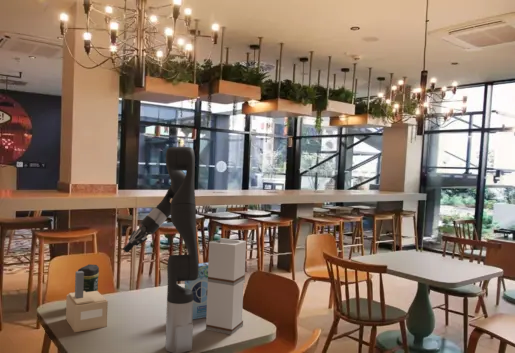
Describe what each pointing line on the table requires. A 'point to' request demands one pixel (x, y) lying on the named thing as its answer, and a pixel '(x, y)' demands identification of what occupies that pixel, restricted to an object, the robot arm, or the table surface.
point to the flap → (80, 290)
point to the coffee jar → (90, 277)
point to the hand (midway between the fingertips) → (125, 250)
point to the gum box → (199, 291)
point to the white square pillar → (225, 285)
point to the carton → (87, 313)
